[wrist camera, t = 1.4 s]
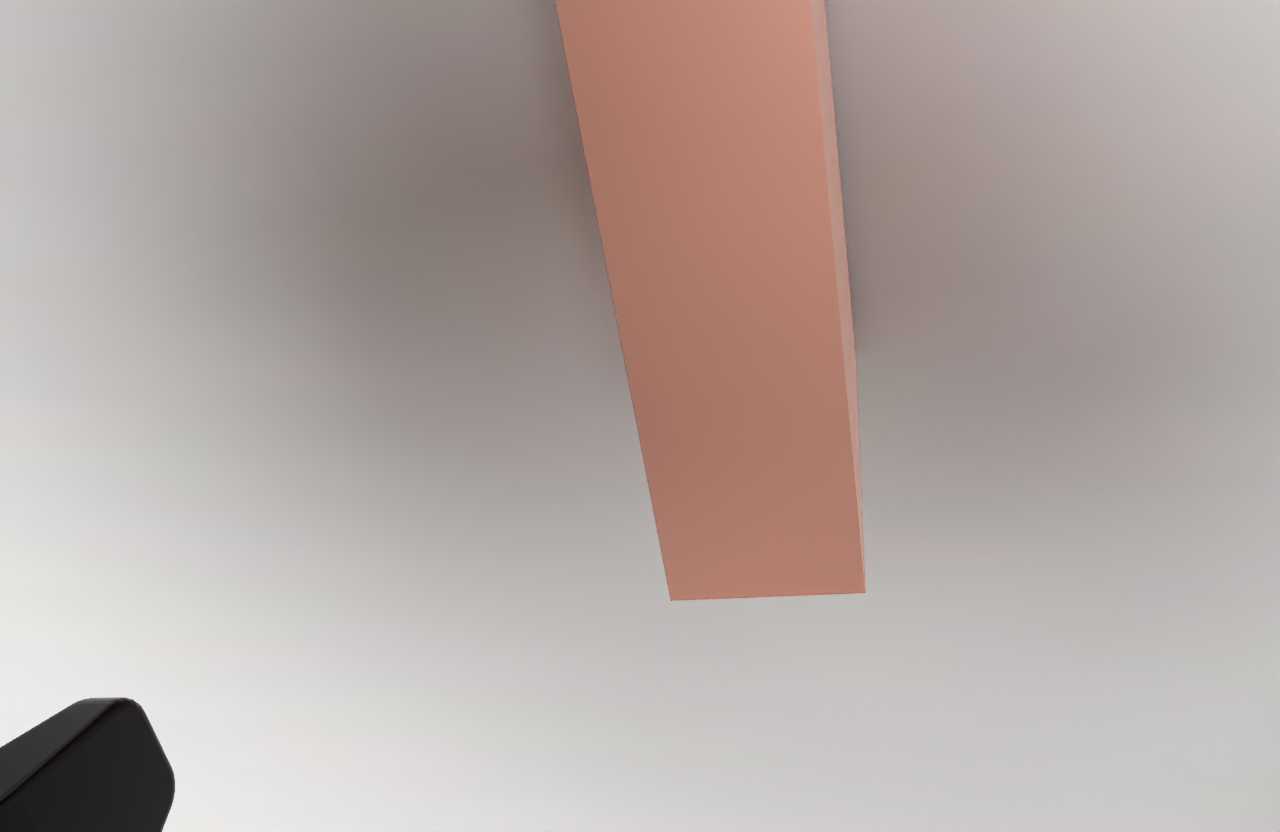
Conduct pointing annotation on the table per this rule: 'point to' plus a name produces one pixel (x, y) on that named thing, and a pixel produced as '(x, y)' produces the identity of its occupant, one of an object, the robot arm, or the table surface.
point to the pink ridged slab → (728, 282)
